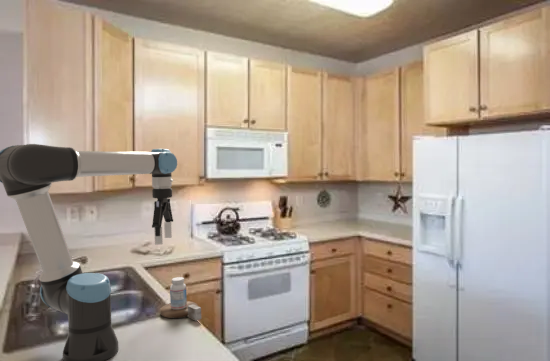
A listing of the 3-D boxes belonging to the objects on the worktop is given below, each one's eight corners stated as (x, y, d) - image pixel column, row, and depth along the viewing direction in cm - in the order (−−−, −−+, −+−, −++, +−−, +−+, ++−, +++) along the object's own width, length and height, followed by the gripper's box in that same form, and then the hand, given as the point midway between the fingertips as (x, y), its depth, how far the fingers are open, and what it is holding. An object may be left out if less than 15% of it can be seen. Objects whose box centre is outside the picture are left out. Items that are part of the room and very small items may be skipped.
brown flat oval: (153, 312, 146) (153, 301, 146) (184, 302, 157) (184, 292, 157) (182, 325, 133) (181, 314, 133) (213, 314, 143) (213, 303, 143)
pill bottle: (177, 303, 151) (176, 275, 150) (190, 306, 148) (189, 277, 148) (167, 309, 145) (166, 280, 145) (179, 311, 143) (178, 281, 142)
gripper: (162, 189, 139) (164, 247, 139) (179, 186, 164) (180, 235, 164) (142, 189, 138) (144, 247, 139) (161, 186, 163) (162, 235, 164)
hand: (163, 240), depth 152 cm, fingers open, 13 cm apart
